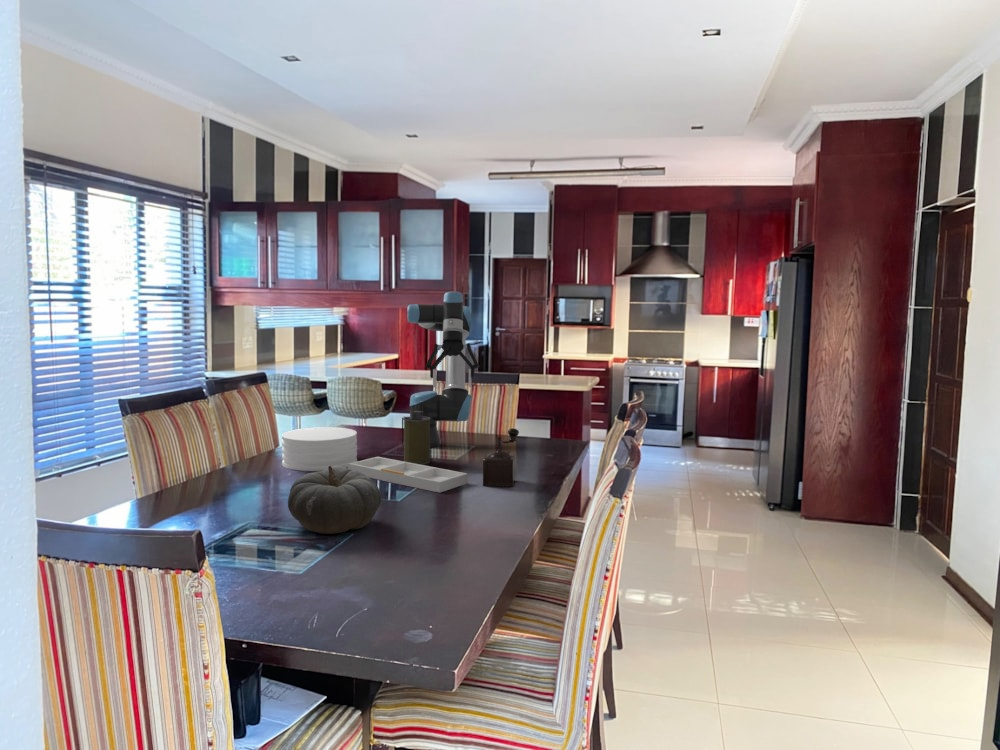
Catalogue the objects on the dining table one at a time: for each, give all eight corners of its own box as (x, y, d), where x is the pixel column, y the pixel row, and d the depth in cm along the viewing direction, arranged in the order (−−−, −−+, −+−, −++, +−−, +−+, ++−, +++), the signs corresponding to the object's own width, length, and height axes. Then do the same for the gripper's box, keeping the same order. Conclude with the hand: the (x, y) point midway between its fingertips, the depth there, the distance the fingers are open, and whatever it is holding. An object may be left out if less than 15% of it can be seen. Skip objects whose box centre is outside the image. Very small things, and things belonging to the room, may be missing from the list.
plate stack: (365, 456, 282) (365, 428, 281) (343, 472, 254) (343, 441, 253) (299, 453, 284) (298, 426, 283) (269, 469, 257) (269, 439, 256)
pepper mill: (514, 488, 235) (515, 435, 234) (482, 486, 237) (482, 434, 235) (518, 476, 251) (519, 427, 249) (488, 475, 252) (489, 426, 250)
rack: (348, 473, 252) (348, 462, 252) (377, 465, 265) (377, 455, 264) (439, 492, 228) (439, 480, 228) (467, 483, 240) (467, 472, 240)
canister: (432, 459, 276) (432, 409, 274) (427, 465, 266) (427, 413, 264) (405, 458, 277) (405, 409, 275) (399, 464, 267) (399, 413, 265)
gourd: (345, 497, 211) (345, 444, 206) (400, 528, 196) (402, 471, 191) (271, 524, 193) (270, 467, 188) (326, 560, 178) (326, 499, 173)
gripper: (418, 330, 264) (417, 385, 261) (484, 328, 262) (483, 384, 259) (422, 334, 272) (421, 388, 268) (486, 333, 270) (485, 387, 266)
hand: (452, 386), depth 263 cm, fingers open, 13 cm apart
